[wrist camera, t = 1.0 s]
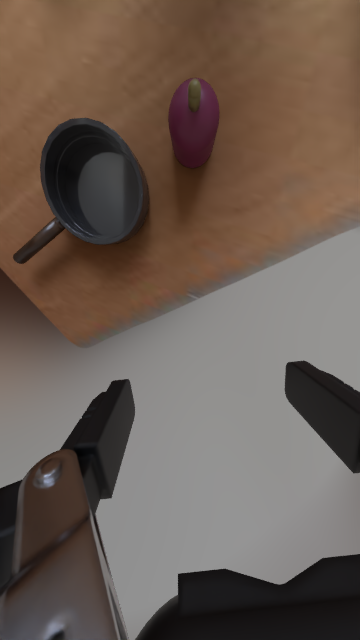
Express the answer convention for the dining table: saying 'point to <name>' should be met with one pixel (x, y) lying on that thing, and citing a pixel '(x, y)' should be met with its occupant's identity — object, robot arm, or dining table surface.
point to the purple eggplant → (193, 122)
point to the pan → (93, 182)
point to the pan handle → (38, 241)
